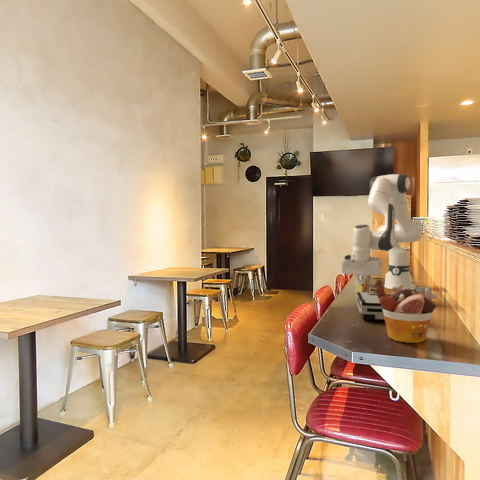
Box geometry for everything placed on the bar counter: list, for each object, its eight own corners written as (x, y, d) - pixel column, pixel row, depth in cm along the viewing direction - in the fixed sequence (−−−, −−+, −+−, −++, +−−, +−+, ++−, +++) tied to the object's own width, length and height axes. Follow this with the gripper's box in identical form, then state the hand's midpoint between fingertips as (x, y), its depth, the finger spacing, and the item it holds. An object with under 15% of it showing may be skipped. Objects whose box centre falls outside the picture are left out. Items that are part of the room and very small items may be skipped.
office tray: (402, 308, 183) (403, 291, 183) (417, 325, 152) (418, 304, 152) (356, 306, 188) (356, 289, 187) (361, 323, 157) (361, 302, 156)
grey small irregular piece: (417, 302, 196) (417, 286, 196) (432, 304, 192) (433, 287, 191) (414, 304, 190) (414, 288, 190) (429, 306, 186) (430, 289, 186)
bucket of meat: (436, 335, 137) (436, 279, 136) (438, 349, 122) (439, 285, 121) (375, 329, 145) (376, 276, 144) (371, 342, 130) (371, 282, 129)
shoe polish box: (376, 300, 200) (376, 277, 200) (384, 302, 196) (384, 278, 195) (369, 301, 198) (369, 278, 197) (377, 303, 193) (377, 279, 193)
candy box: (364, 294, 217) (364, 267, 217) (371, 295, 214) (371, 267, 213) (355, 296, 212) (355, 268, 211) (362, 297, 208) (362, 269, 208)
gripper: (384, 257, 197) (383, 284, 197) (344, 255, 209) (344, 281, 210) (380, 258, 192) (379, 286, 192) (340, 256, 204) (339, 282, 205)
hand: (361, 283), depth 201 cm, fingers closed
